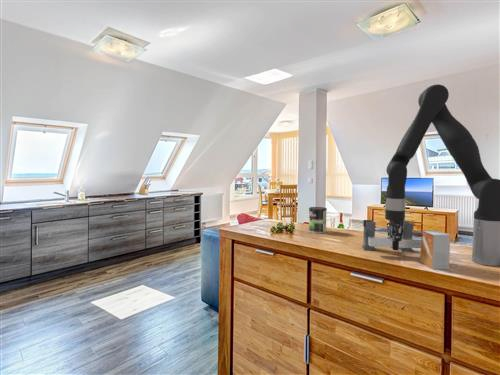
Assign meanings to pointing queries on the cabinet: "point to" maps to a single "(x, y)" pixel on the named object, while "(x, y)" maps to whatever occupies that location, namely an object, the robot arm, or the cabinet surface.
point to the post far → (368, 233)
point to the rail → (389, 242)
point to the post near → (407, 233)
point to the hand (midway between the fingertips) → (393, 248)
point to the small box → (435, 249)
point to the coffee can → (317, 219)
